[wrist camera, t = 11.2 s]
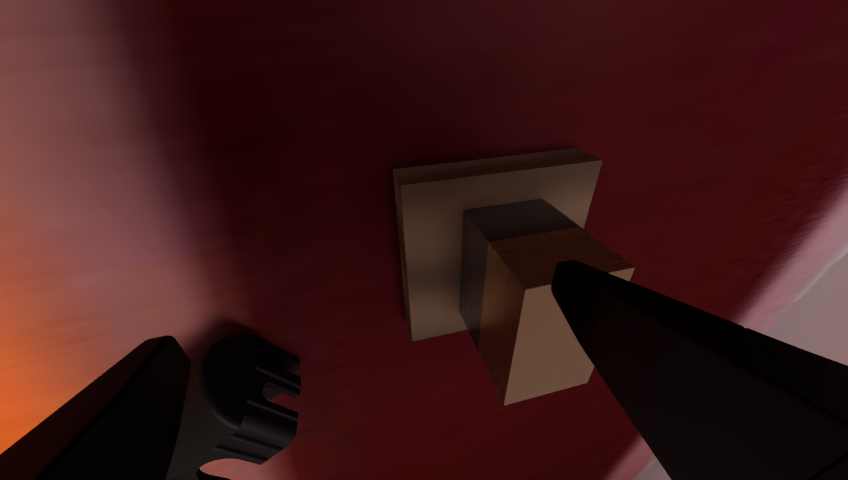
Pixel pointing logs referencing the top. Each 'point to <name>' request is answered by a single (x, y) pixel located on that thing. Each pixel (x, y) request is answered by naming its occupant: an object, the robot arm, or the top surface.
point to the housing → (525, 295)
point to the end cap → (235, 406)
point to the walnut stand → (443, 220)
